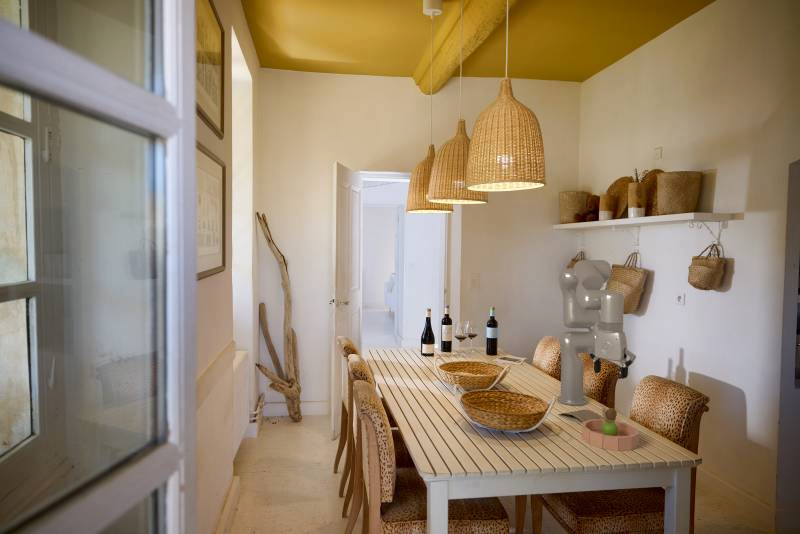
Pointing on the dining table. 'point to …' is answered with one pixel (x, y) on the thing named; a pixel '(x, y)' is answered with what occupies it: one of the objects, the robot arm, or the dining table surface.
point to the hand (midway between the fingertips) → (610, 375)
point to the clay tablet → (585, 415)
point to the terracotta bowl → (620, 442)
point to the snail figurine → (609, 422)
